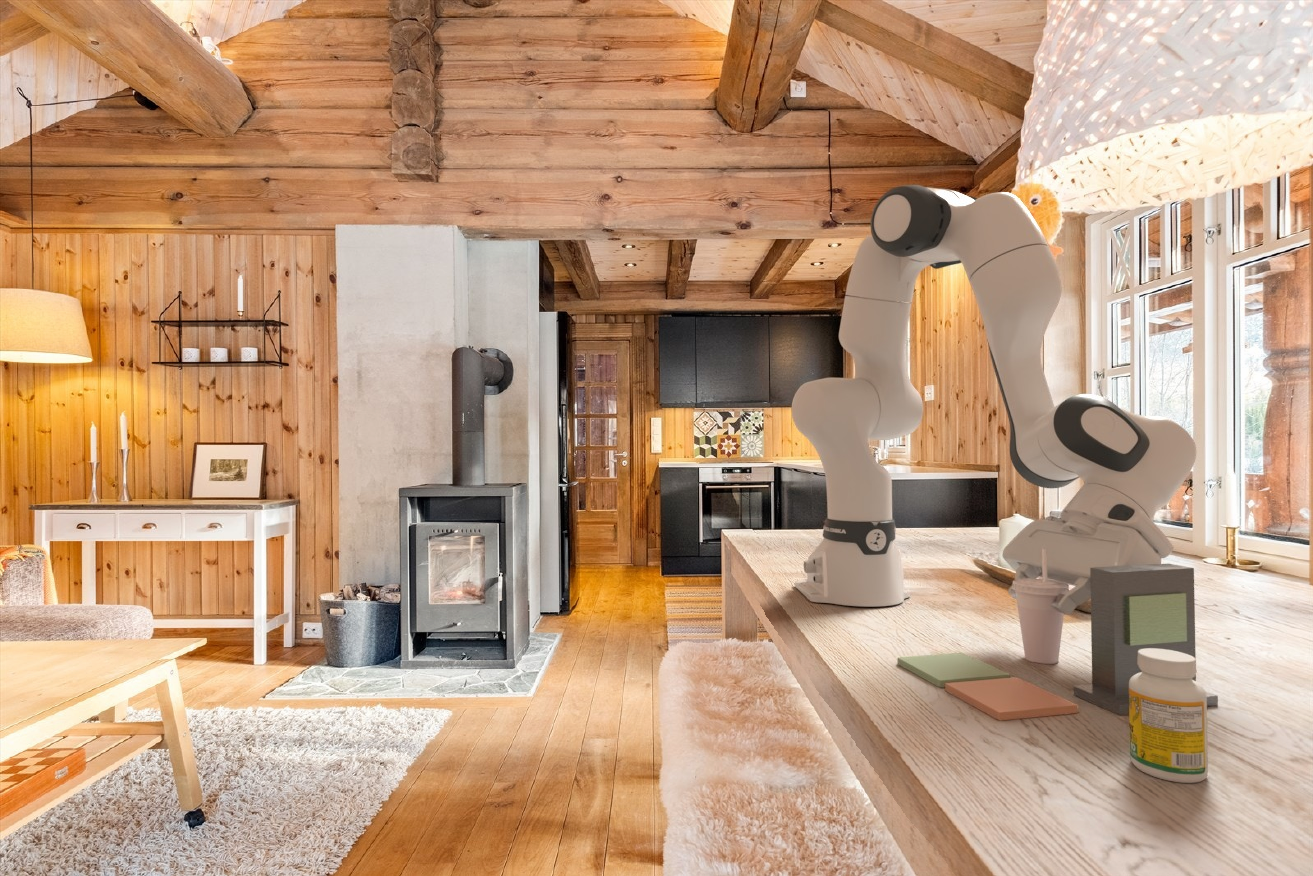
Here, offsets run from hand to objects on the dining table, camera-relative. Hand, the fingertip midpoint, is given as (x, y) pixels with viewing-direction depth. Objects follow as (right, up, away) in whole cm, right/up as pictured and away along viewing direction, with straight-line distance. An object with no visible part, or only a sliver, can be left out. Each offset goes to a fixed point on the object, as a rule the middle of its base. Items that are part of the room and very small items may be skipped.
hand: (1036, 603), depth 91 cm
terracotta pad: (-11, -7, -15) cm, 19 cm away
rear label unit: (+4, -7, -15) cm, 17 cm away
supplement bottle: (-5, -7, -31) cm, 32 cm away
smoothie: (+1, -7, 0) cm, 7 cm away
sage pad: (-13, -7, -5) cm, 15 cm away
